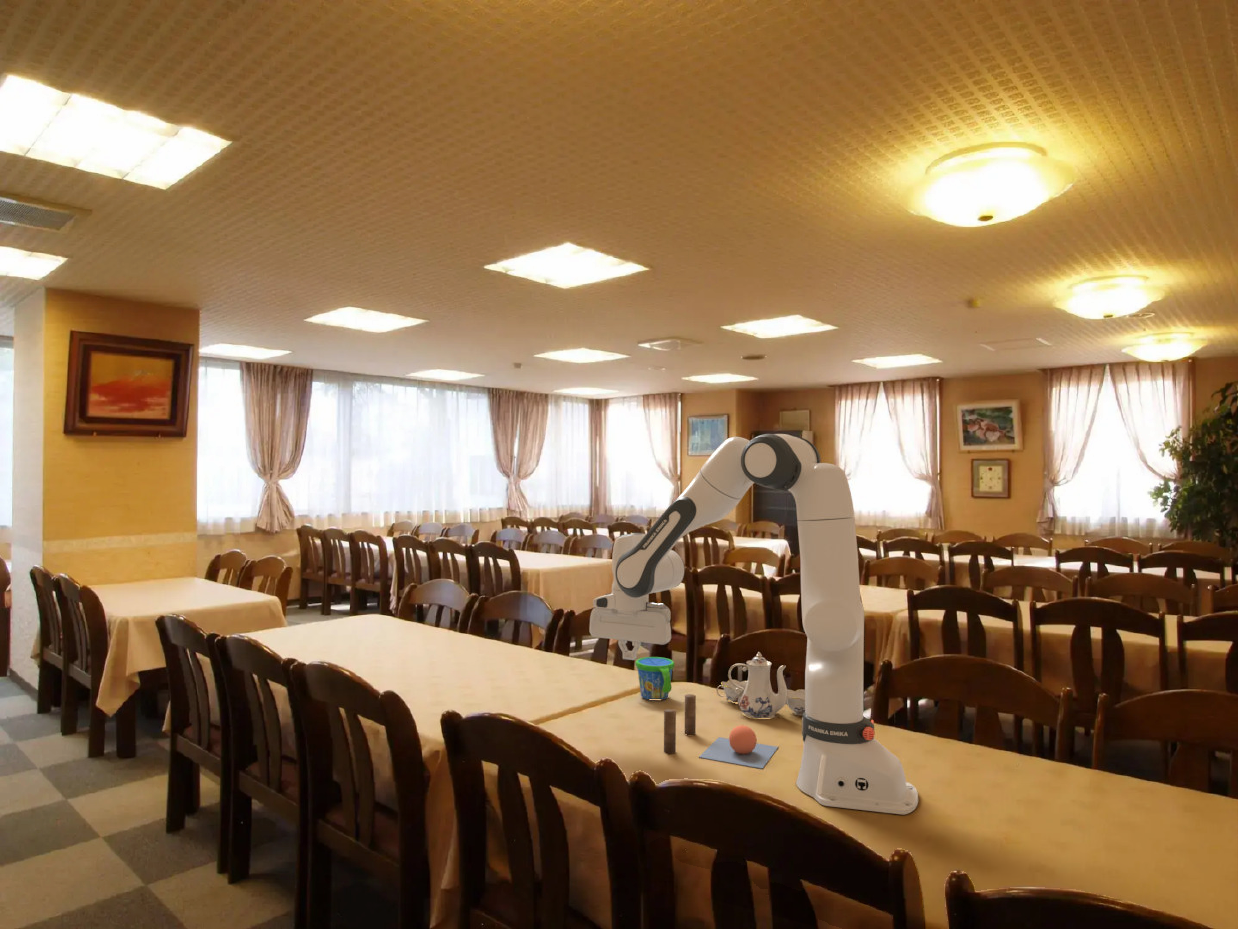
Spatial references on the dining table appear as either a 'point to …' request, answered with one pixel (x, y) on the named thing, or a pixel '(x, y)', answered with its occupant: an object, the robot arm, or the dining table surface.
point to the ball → (742, 739)
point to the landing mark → (725, 753)
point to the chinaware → (762, 691)
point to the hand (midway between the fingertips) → (629, 659)
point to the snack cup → (654, 677)
